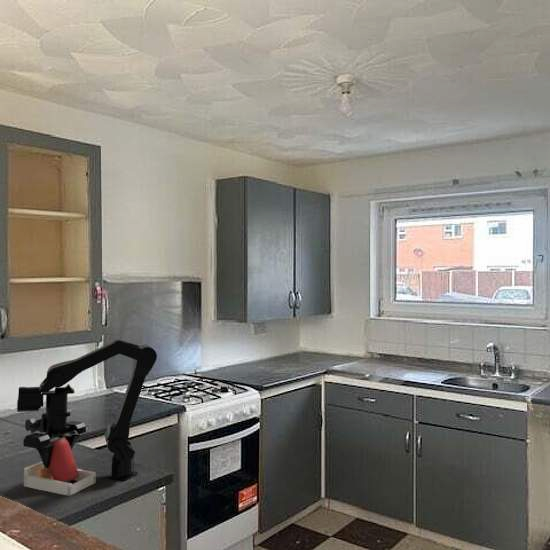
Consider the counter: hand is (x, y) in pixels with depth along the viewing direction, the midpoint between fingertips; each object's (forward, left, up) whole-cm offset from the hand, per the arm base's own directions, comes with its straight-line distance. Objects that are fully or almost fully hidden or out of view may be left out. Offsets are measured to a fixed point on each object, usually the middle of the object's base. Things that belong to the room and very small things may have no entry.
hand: (55, 464), depth 161 cm
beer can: (0, +4, -5) cm, 6 cm away
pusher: (0, -2, -6) cm, 6 cm away
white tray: (0, +1, -6) cm, 6 cm away
